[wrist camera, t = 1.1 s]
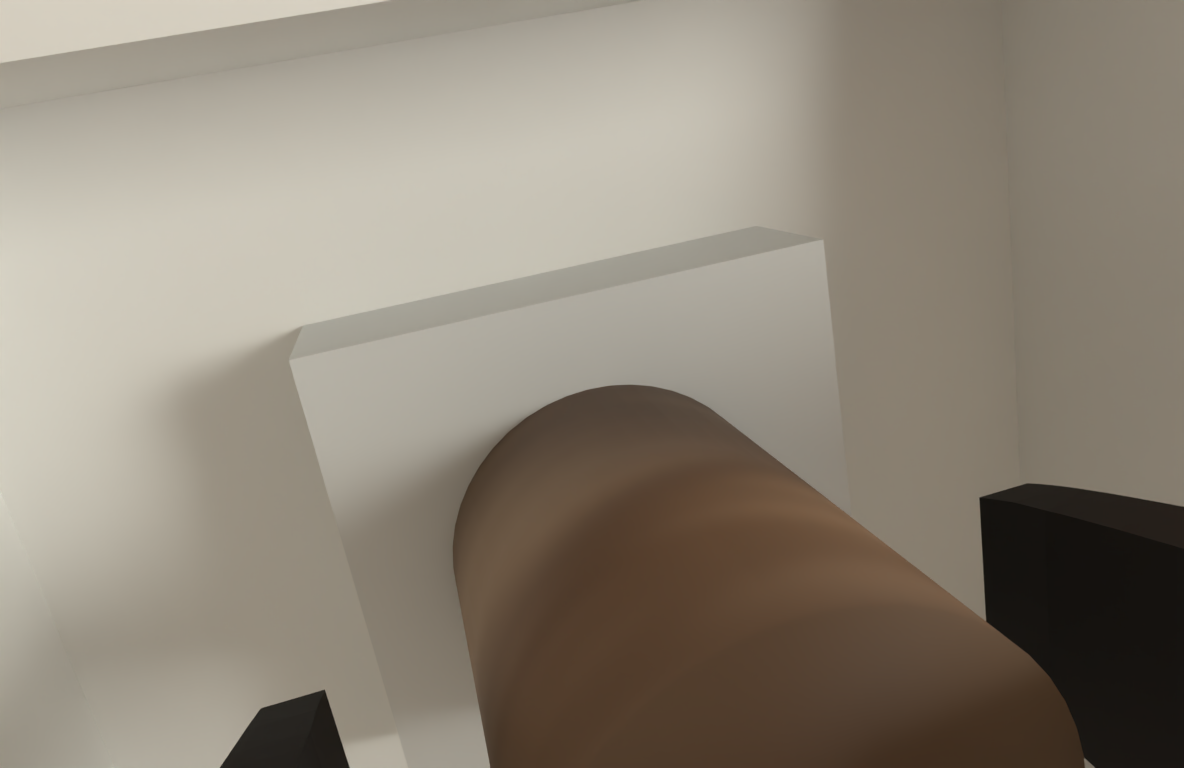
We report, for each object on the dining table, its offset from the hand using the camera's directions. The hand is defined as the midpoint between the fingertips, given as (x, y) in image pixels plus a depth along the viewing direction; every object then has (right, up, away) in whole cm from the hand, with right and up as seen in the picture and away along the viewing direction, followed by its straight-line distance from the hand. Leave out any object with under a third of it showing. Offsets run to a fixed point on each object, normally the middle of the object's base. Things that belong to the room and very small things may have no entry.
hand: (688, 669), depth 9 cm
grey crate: (-1, +2, +6) cm, 6 cm away
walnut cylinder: (-1, +1, +3) cm, 3 cm away
